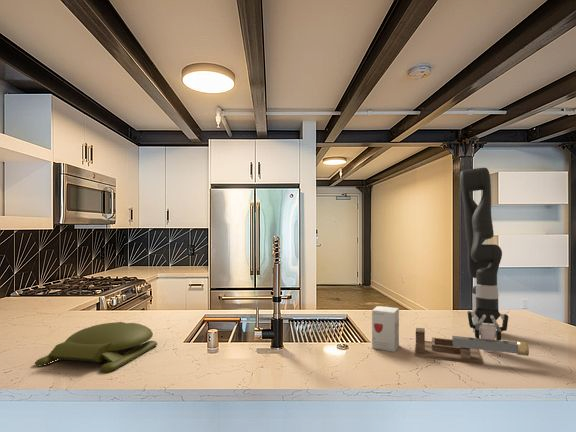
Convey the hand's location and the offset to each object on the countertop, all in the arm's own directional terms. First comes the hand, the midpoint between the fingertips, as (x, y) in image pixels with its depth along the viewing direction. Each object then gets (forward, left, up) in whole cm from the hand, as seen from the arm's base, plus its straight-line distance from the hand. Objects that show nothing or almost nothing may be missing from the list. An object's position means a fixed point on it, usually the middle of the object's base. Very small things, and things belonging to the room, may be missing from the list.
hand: (487, 340), depth 137 cm
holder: (+8, -15, -4) cm, 17 cm away
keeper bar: (+14, -2, 0) cm, 14 cm away
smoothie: (0, 0, -4) cm, 4 cm away
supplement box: (+10, -37, -4) cm, 39 cm away
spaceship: (+55, -135, -5) cm, 146 cm away
